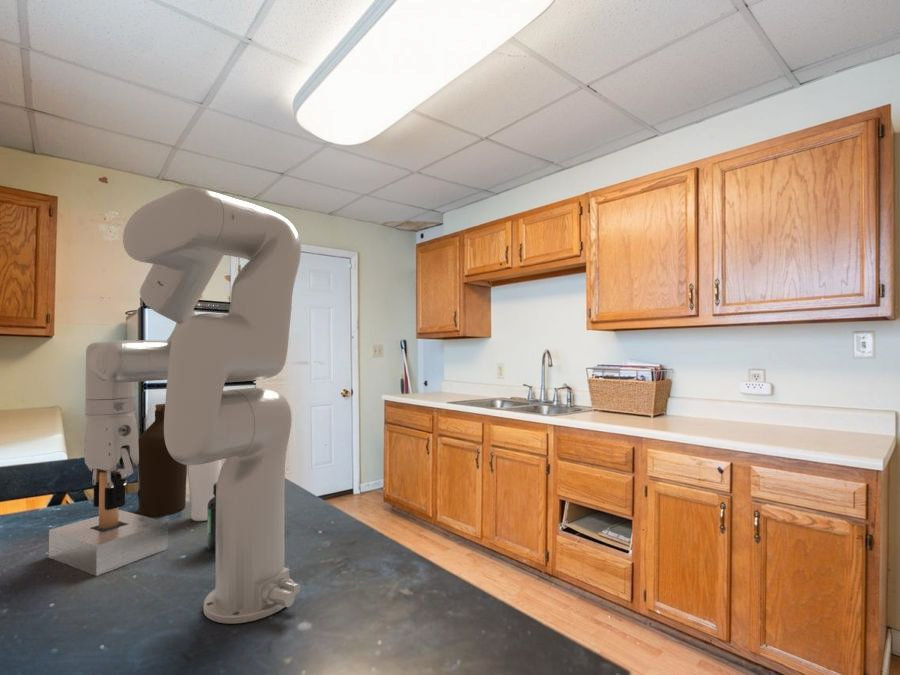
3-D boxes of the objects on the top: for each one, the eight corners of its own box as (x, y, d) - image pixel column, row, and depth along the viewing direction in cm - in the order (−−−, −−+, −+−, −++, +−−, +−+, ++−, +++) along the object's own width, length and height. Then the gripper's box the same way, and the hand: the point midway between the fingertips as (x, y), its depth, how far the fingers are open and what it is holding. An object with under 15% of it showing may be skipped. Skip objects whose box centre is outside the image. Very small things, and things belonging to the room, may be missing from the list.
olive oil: (194, 501, 118) (195, 401, 118) (178, 516, 107) (178, 406, 108) (148, 504, 116) (148, 402, 116) (126, 519, 105) (127, 407, 106)
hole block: (167, 548, 89) (167, 522, 90) (96, 576, 79) (96, 545, 79) (119, 534, 97) (119, 509, 97) (48, 557, 86) (49, 530, 86)
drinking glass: (227, 516, 107) (227, 449, 107) (198, 525, 101) (198, 455, 102) (210, 510, 111) (210, 446, 111) (181, 519, 105) (181, 452, 105)
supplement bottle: (202, 555, 87) (202, 489, 87) (213, 540, 93) (213, 479, 94) (242, 551, 88) (242, 486, 88) (249, 537, 95) (249, 477, 95)
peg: (121, 524, 89) (122, 470, 89) (104, 529, 86) (104, 474, 86) (112, 521, 90) (113, 468, 90) (95, 526, 87) (96, 472, 88)
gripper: (156, 407, 88) (155, 506, 88) (108, 403, 96) (107, 494, 95) (112, 412, 81) (111, 520, 81) (64, 407, 89) (63, 505, 88)
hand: (109, 505), depth 88 cm, fingers closed on peg, 3 cm apart
